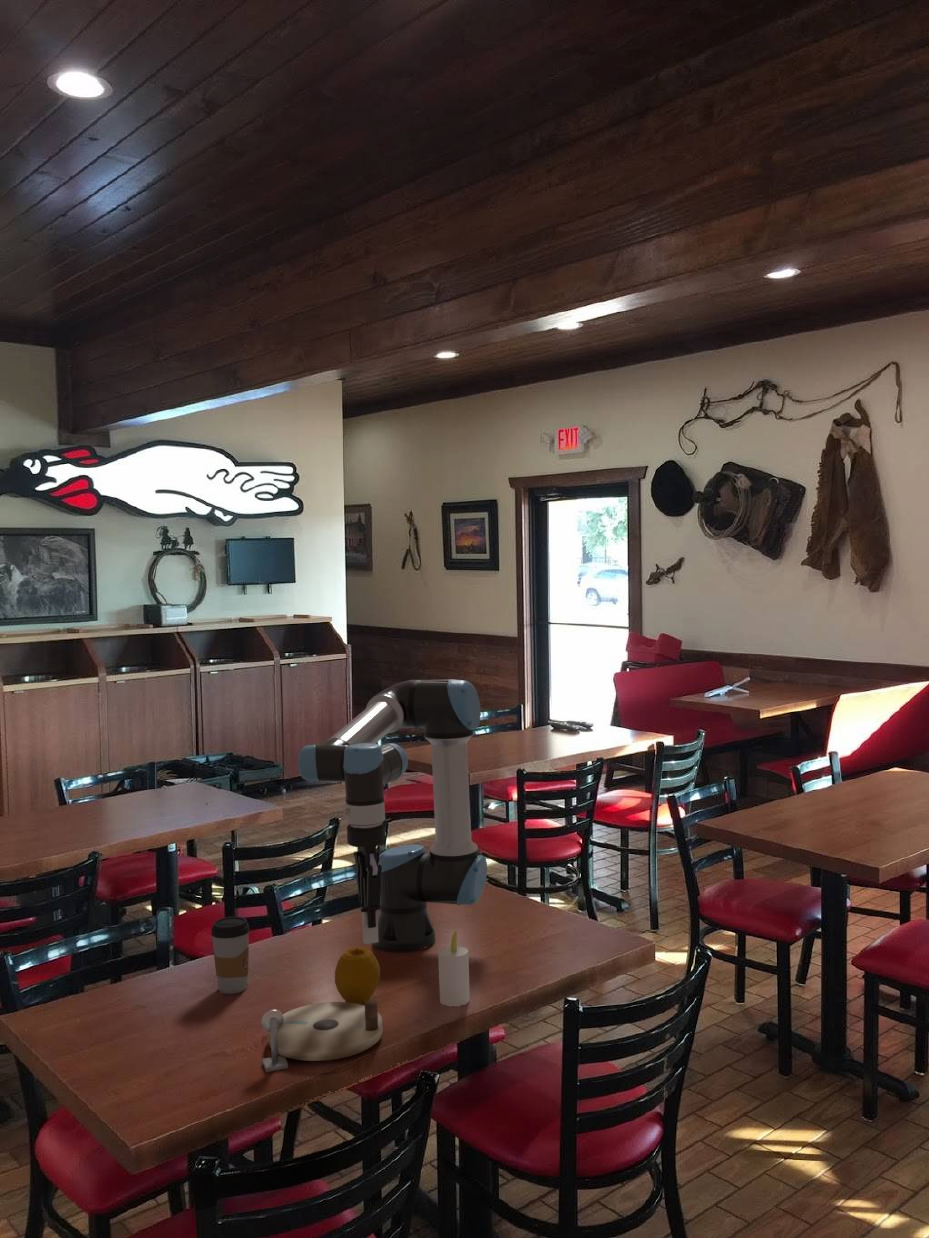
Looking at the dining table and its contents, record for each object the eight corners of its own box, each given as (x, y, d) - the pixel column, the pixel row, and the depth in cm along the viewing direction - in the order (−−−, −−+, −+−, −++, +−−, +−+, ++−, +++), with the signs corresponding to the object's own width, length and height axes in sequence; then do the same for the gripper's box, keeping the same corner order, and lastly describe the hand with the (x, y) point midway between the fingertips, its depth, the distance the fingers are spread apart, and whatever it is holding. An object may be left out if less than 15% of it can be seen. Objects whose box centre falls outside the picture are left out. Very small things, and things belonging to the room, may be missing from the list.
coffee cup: (243, 997, 229) (240, 928, 228) (207, 995, 231) (204, 927, 230) (258, 982, 237) (255, 916, 236) (223, 980, 239) (220, 915, 238)
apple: (386, 1008, 220) (384, 952, 220) (340, 1015, 218) (337, 959, 217) (376, 991, 230) (374, 937, 229) (332, 997, 227) (330, 943, 226)
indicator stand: (284, 1058, 199) (282, 1006, 198) (287, 1068, 195) (285, 1014, 194) (262, 1062, 197) (260, 1010, 197) (266, 1072, 194) (263, 1018, 193)
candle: (447, 992, 227) (444, 923, 227) (474, 997, 225) (472, 927, 224) (433, 1003, 222) (431, 933, 221) (461, 1008, 219) (459, 937, 218)
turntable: (397, 1015, 214) (396, 981, 214) (359, 1065, 193) (358, 1027, 192) (296, 1007, 220) (295, 974, 219) (249, 1055, 198) (247, 1018, 198)
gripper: (339, 818, 212) (344, 933, 214) (354, 833, 200) (360, 955, 201) (376, 814, 215) (380, 928, 216) (393, 828, 202) (398, 949, 203)
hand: (370, 941), depth 209 cm, fingers closed
